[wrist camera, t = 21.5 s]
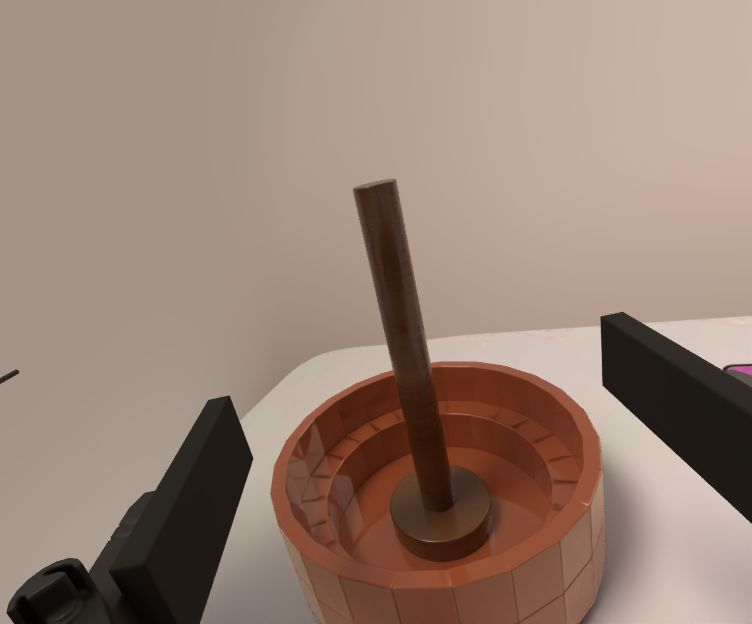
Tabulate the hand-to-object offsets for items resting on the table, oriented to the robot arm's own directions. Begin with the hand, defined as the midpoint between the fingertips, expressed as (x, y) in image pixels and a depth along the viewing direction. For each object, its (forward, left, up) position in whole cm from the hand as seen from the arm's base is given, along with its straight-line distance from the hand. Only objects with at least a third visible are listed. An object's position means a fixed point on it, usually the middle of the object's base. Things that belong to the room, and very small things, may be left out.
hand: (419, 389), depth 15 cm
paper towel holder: (-7, +2, -13) cm, 15 cm away
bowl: (-7, +2, -14) cm, 16 cm away
